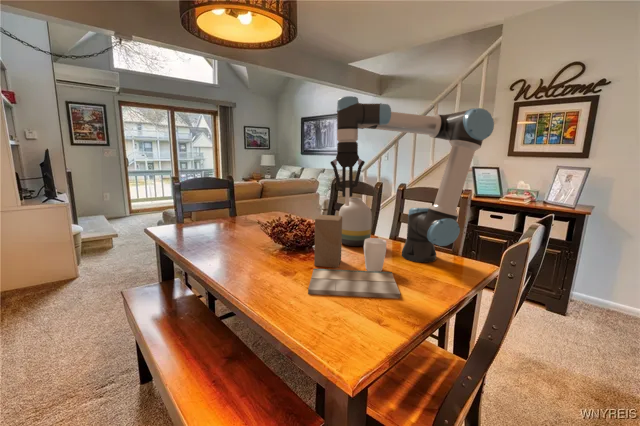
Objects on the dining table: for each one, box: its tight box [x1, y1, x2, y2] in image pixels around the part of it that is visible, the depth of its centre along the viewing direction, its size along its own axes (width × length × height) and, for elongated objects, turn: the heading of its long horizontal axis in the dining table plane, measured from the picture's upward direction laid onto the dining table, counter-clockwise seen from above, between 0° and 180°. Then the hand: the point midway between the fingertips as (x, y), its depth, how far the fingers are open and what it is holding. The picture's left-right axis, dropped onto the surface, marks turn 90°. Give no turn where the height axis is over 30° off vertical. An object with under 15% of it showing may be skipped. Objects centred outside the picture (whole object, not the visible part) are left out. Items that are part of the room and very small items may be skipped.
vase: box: [338, 197, 373, 247], centre depth 158 cm, size 17×17×24 cm
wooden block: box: [313, 214, 343, 269], centre depth 129 cm, size 10×10×20 cm
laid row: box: [307, 278, 401, 299], centre depth 105 cm, size 30×9×2 cm, turn 85°
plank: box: [310, 268, 396, 283], centre depth 114 cm, size 30×9×2 cm, turn 85°
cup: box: [363, 237, 387, 272], centre depth 124 cm, size 9×9×12 cm
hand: (347, 205), depth 116 cm, fingers closed
